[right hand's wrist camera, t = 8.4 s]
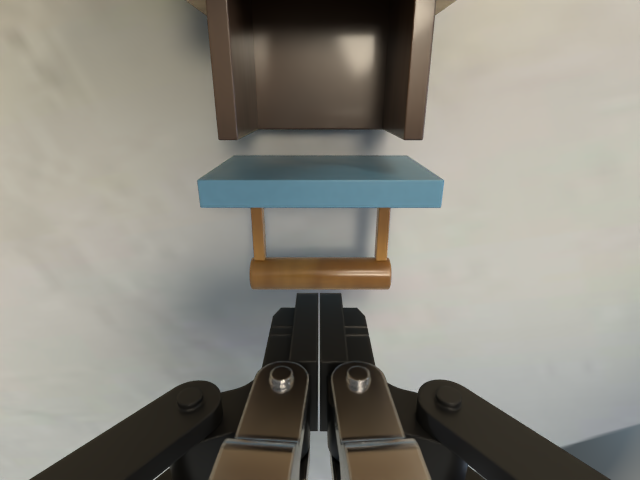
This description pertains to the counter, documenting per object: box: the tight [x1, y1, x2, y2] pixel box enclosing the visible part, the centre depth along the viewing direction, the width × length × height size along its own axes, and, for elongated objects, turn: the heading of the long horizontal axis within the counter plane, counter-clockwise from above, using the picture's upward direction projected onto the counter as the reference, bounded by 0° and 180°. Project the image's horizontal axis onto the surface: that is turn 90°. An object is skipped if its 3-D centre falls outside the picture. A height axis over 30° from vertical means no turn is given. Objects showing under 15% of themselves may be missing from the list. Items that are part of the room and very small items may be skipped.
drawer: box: [197, 0, 444, 289], centre depth 17 cm, size 21×10×7 cm, turn 0°
